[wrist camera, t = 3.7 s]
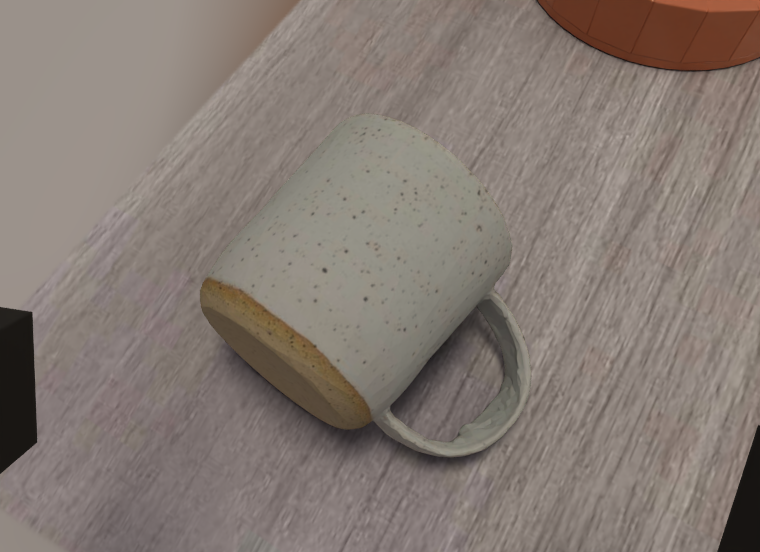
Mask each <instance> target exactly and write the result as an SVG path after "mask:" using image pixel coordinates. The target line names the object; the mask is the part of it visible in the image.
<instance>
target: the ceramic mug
mask: <svg viewBox="0 0 760 552" xmlns="http://www.w3.org/2000/svg"><path fill="white" fill-rule="evenodd" d="M511 253H512V243H511V238H510V233H509V231H508V228H507V225H506V222H505V219H504V217H503V215H502V214H501V212H500V210H499V208H498V206H497V205H496V203H495V202H494V200H493V199H492V197H491V196H490V194H489V193H488V191H487V190H486V188H485V187H484V186H483V185H482V184H481V183H480V181H479V180H478V179H477V178H476V177H475V176H474V175H473V174H472V173H471V171H470V170H469V169H468V168H467V167H466V166H465V165H464V164H463V163H462V162H461V161H460V160H459V159H458V158H457V157H456V156H455V155H453V154H452V153H451V152H449V151H448V150H447V149H446V148H444V147H443V146H442V145H441V144H439V143H438V142H437V141H435V140H433V139H432V138H431V137H429V136H428V135H427V134H425V133H423V132H421V131H419V130H418V129H416V128H414V127H412V126H410V125H408V124H405V123H403V122H401V121H399V120H396V119H392V118H389V117H385V116H382V115H378V114H359V115H355V116H352V117H350V118H348V119H346V120H344V121H342V122H341V123H340V124H339V125H337V126H336V127H335V128H334V129H333V131H332V132H331V133H330V134H329V135H328V136H327V137H326V138H325V140H324V141H323V142H322V143H321V144H320V145H319V147H318V148H317V149H316V150H315V151H314V152H313V153H312V154H311V155H310V156H309V157H308V159H307V160H306V161H305V162H304V163H303V164H302V165H301V166H300V167H299V168H298V170H297V171H296V172H295V173H294V174H293V175H292V176H291V177H290V178H289V180H288V181H287V182H286V183H285V184H284V185H283V186H282V187H281V188H280V189H279V190H278V191H277V192H276V194H275V195H274V196H273V197H272V198H271V200H270V201H269V202H268V203H267V204H266V205H265V206H264V208H263V209H262V210H261V211H260V212H259V213H258V214H257V215H256V216H255V217H254V218H253V219H252V220H251V221H250V222H249V223H248V224H247V225H246V226H245V227H244V228H243V229H242V230H241V231H240V233H239V234H238V235H237V236H236V237H235V238H234V239H233V240H232V241H231V242H230V244H229V245H228V246H227V247H226V249H225V250H224V251H223V252H222V254H221V255H220V257H219V258H218V260H217V261H216V263H215V264H214V266H213V267H212V269H211V271H210V272H209V274H208V275H207V277H206V279H205V280H204V282H203V284H202V287H201V290H200V302H201V308H202V311H203V314H204V315H205V317H206V318H207V320H208V321H209V323H210V324H211V326H212V327H213V328H214V329H215V330H216V332H217V333H218V334H219V335H220V336H221V337H222V338H223V339H224V340H225V341H226V342H227V343H228V344H229V345H230V346H231V347H232V348H233V349H234V350H235V351H236V352H237V353H238V354H239V355H240V356H241V357H242V358H243V359H244V360H245V361H246V362H247V363H248V364H249V365H251V366H252V367H253V368H254V369H255V370H256V371H257V372H258V373H259V374H261V375H262V376H263V377H264V378H265V379H266V380H267V381H269V382H270V383H271V384H272V385H273V386H275V387H276V388H277V389H278V390H280V391H281V392H282V393H283V394H285V395H286V396H287V397H289V398H290V399H291V400H292V401H294V402H295V403H297V404H298V405H299V406H301V407H302V408H304V409H305V410H307V411H308V412H309V413H311V414H312V415H314V416H315V417H317V418H318V419H320V420H322V421H324V422H326V423H327V424H329V425H332V426H334V427H336V428H341V429H347V430H349V429H356V428H362V427H364V426H365V425H367V424H368V423H370V422H371V421H374V422H375V423H376V424H377V425H378V426H379V427H380V428H381V429H382V430H383V431H384V433H386V434H387V435H388V436H390V437H391V438H393V439H395V440H396V441H398V442H400V443H402V444H404V445H406V446H408V447H410V448H411V449H413V450H415V451H418V452H422V453H426V454H430V455H434V456H439V457H460V456H467V455H470V454H473V453H476V452H479V451H482V450H484V449H486V448H487V447H489V446H490V445H491V444H494V443H495V442H497V441H498V440H499V439H500V438H501V437H502V436H503V435H504V434H505V433H506V432H507V431H508V430H509V428H510V427H511V426H512V425H513V424H514V422H515V421H516V420H517V419H518V417H519V415H520V414H521V412H522V410H523V408H524V406H525V404H526V402H527V399H528V396H529V392H530V386H531V367H530V358H529V352H528V349H527V346H526V343H525V339H524V336H523V334H522V332H521V330H520V327H519V325H518V323H517V321H516V320H515V318H514V316H513V315H512V313H511V312H510V310H509V309H508V307H507V305H506V304H505V303H504V302H503V300H502V299H501V297H500V295H499V294H498V293H497V292H496V291H495V290H494V286H495V283H496V282H497V281H498V279H499V278H500V277H501V276H502V275H503V273H504V272H505V270H506V269H507V267H508V266H509V263H510V259H511ZM476 306H477V307H478V309H479V310H480V312H481V313H482V314H483V316H484V317H485V319H486V320H487V322H488V323H489V325H490V327H491V328H492V330H493V332H494V334H495V336H496V338H497V340H498V342H499V345H500V347H501V350H502V354H503V359H504V363H505V378H504V382H503V384H502V385H501V391H500V393H499V394H498V395H497V396H496V397H495V399H494V400H493V401H492V402H491V403H490V404H489V405H488V407H487V408H486V409H485V410H484V411H483V413H482V414H481V415H480V416H479V417H477V418H476V419H475V420H474V421H473V422H472V423H471V424H466V425H464V426H462V427H461V429H460V431H459V435H458V437H457V438H455V439H454V440H453V441H451V442H441V441H436V440H427V439H426V438H425V437H423V436H422V435H420V434H419V433H417V432H415V431H414V430H412V429H410V428H409V427H407V426H405V425H404V424H403V423H402V421H401V420H399V419H398V418H396V417H394V415H393V414H392V412H391V411H390V406H391V404H392V403H393V402H394V401H395V400H396V399H397V398H398V397H399V396H400V395H401V394H402V393H403V392H404V391H405V390H406V388H407V387H408V386H409V385H410V384H411V382H412V381H413V380H414V379H415V377H416V376H417V375H418V373H419V372H420V371H421V369H422V368H423V367H424V365H425V364H426V363H427V361H428V360H429V359H430V358H431V356H432V355H433V354H434V353H435V352H436V351H437V350H438V349H439V348H440V347H441V345H442V344H443V343H444V342H445V341H446V340H447V339H448V338H449V337H450V335H451V334H452V333H453V332H454V331H455V329H456V328H457V327H458V326H459V325H460V324H461V323H462V322H463V321H464V320H465V318H466V317H467V316H468V315H469V314H470V313H471V312H472V311H473V310H474V308H475V307H476Z"/></svg>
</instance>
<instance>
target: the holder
mask: <svg viewBox="0 0 760 552" xmlns="http://www.w3.org/2000/svg"><path fill="white" fill-rule="evenodd" d="M538 2H539V3H540V5H541V6H542V7H543V8H544V9H545V11H546V12H547V13H548V14H549V15H550V16H551V17H552V18H553V19H554V20H555V21H556V22H557V23H558V24H560V25H561V26H562V27H563V28H565V29H566V30H567V31H569V32H570V33H571V34H573V35H574V36H575V37H577V38H579V39H581V40H582V41H584V42H586V43H587V44H589V45H591V46H593V47H595V48H597V49H599V50H601V51H604V52H606V53H608V54H610V55H613V56H616V57H619V58H622V59H625V60H627V61H631V62H635V63H639V64H643V65H647V66H652V67H658V68H664V69H674V70H711V69H719V68H727V67H731V66H735V65H739V64H743V63H746V62H748V61H751V60H754V59H756V58H759V57H760V0H538Z"/></svg>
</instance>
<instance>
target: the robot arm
mask: <svg viewBox="0 0 760 552" xmlns="http://www.w3.org/2000/svg"><path fill="white" fill-rule="evenodd" d="M36 443H37V423H36V397H35V370H34V344H33V317H32V312H28V311H22V310H16V309H9V308H2V307H0V474H1V473H2V472H3V471H4V470H5V469H6V468H8V467H9V466H10V465H11V464H12V463H13V462H15V461H16V460H17V459H18V458H19V457H20V456H22V455H23V454H24V453H25V452H26V451H27V450H29V449H30V448H31V447H32V446H33V445H34V444H36ZM718 552H760V425H758V427H757V430H756V433H755V437H754V440H753V443H752V446H751V449H750V452H749V455H748V458H747V461H746V465H745V468H744V471H743V474H742V477H741V480H740V483H739V486H738V489H737V493H736V496H735V499H734V502H733V505H732V508H731V511H730V514H729V517H728V521H727V524H726V527H725V530H724V533H723V536H722V539H721V542H720V545H719V548H718Z"/></svg>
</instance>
